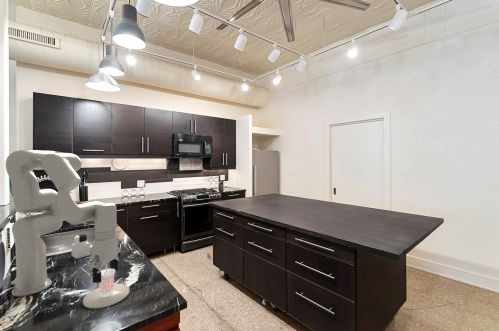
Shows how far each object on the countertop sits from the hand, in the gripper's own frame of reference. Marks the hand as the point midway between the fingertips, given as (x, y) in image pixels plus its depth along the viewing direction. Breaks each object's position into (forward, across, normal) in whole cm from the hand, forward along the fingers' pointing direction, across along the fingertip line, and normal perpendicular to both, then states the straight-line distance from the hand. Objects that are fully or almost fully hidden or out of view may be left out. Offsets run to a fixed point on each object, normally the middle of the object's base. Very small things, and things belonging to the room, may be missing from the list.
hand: (106, 276), depth 95 cm
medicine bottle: (+10, -38, -44) cm, 59 cm away
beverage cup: (+7, 0, 0) cm, 8 cm away
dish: (+8, 0, 0) cm, 9 cm away
